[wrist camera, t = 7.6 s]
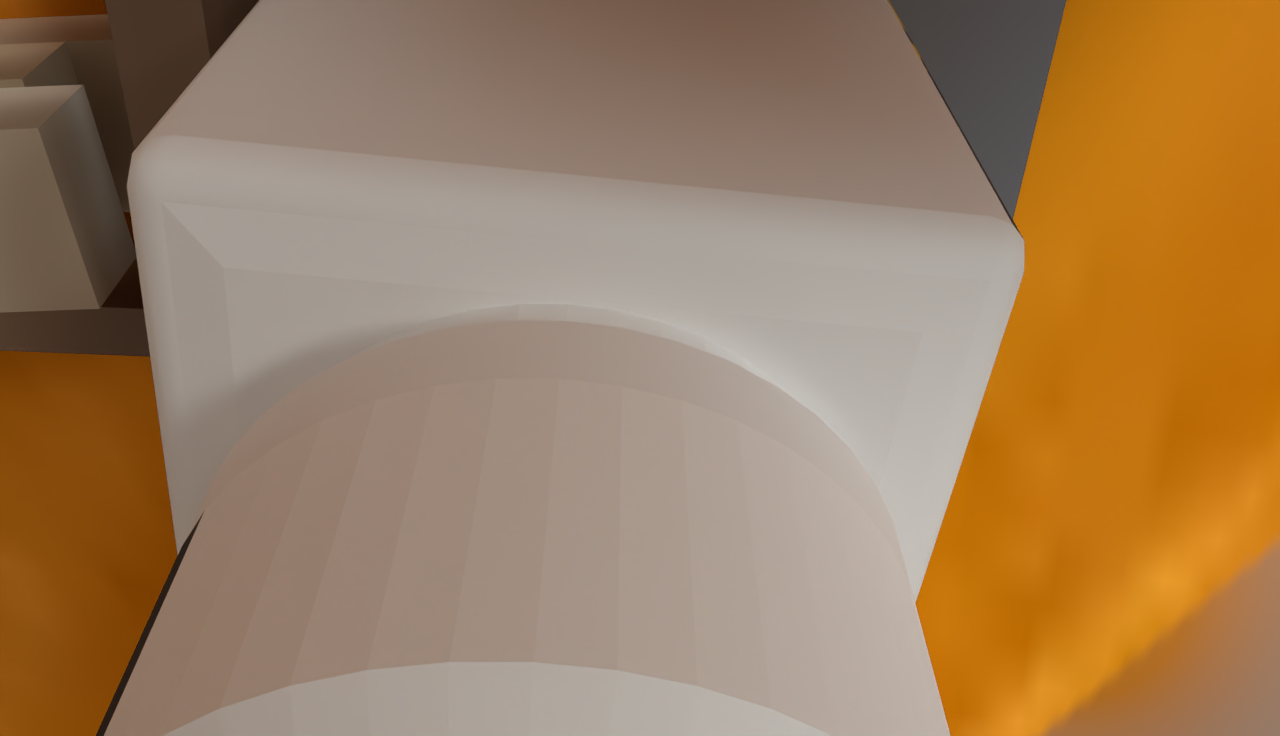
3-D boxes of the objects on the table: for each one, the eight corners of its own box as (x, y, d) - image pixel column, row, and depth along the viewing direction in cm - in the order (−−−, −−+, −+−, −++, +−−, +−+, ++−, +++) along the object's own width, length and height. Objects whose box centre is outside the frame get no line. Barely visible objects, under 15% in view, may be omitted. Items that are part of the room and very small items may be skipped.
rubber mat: (1076, -115, 15) (1091, -103, 15) (943, 451, 20) (950, 474, 20) (357, -151, 15) (347, -141, 15) (401, 430, 20) (395, 453, 20)
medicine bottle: (788, 426, 19) (953, 1365, 9) (334, 386, 19) (-4, 1329, 9) (889, -26, 15) (1365, 768, 5) (316, -91, 15) (-334, 646, 5)
